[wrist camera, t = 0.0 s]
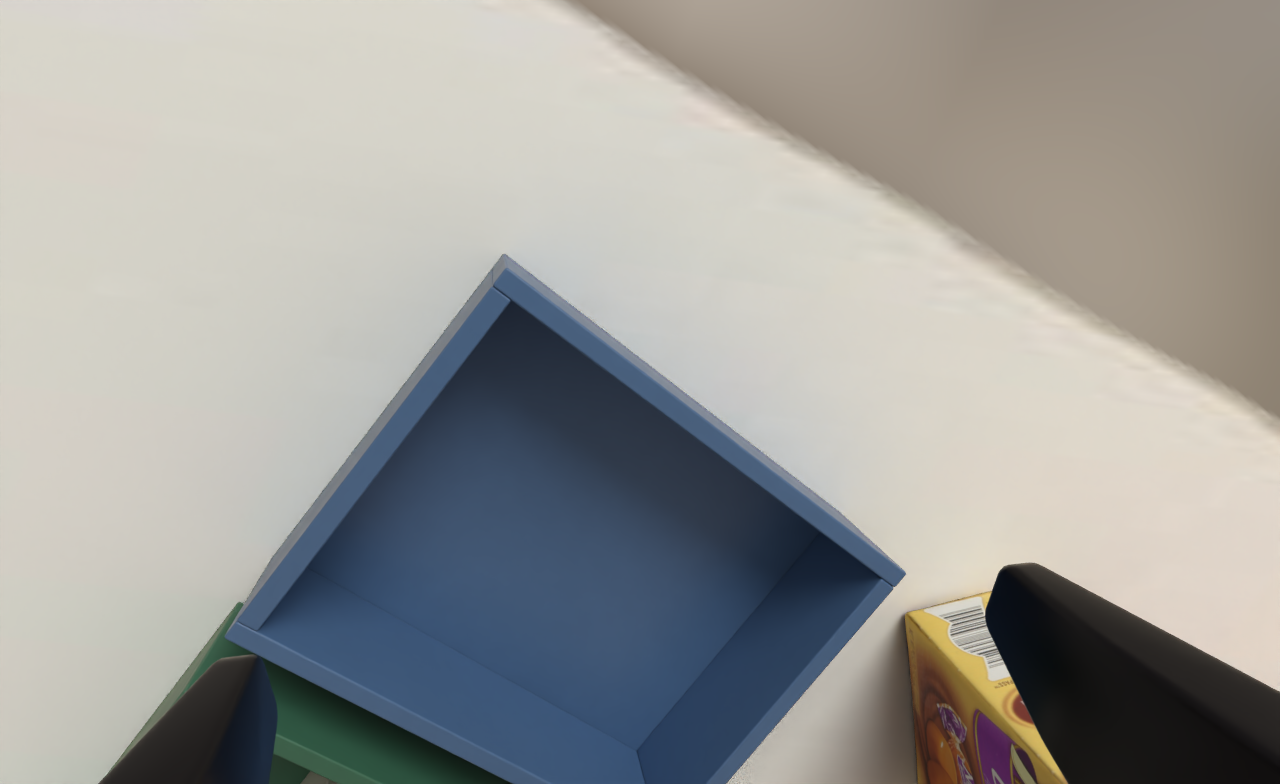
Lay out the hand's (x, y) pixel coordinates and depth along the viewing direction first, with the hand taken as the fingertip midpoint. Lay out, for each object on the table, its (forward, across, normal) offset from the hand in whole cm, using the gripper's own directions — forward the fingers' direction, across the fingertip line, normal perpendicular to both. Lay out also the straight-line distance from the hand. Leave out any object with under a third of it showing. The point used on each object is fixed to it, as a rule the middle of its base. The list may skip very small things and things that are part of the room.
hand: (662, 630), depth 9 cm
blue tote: (+13, 0, +10) cm, 17 cm away
